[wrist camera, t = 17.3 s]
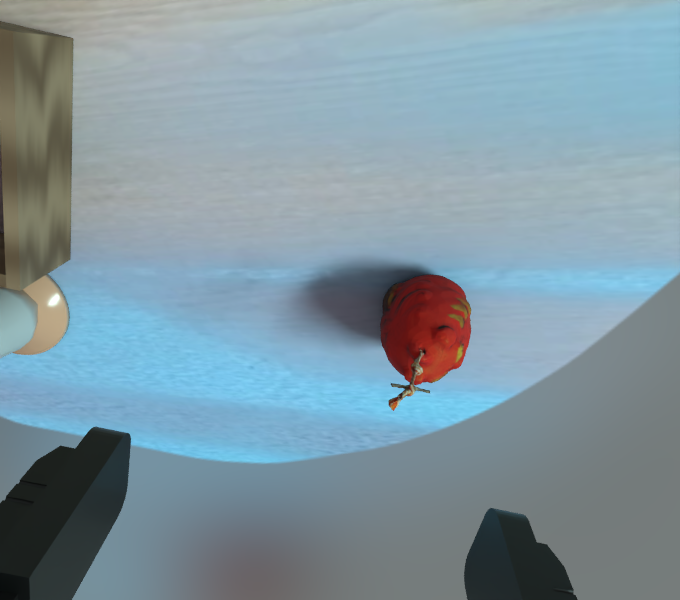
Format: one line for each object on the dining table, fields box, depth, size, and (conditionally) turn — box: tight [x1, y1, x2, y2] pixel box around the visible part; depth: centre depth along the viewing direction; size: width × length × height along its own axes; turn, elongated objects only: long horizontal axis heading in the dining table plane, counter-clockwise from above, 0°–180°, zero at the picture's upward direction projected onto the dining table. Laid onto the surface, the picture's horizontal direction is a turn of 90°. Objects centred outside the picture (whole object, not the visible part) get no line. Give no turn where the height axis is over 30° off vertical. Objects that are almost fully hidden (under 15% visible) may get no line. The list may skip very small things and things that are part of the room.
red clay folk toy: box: [380, 275, 471, 411], centre depth 38 cm, size 8×7×15 cm
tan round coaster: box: [13, 274, 70, 355], centre depth 46 cm, size 9×9×1 cm
